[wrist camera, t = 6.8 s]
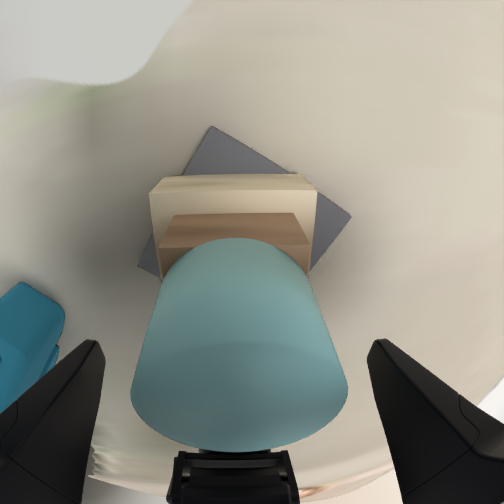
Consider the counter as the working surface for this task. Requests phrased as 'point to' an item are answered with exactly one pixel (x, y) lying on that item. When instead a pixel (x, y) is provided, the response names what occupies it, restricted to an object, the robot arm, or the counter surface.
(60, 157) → the counter surface
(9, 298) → the block
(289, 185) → the tower base
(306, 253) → the tower block
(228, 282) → the light blue cylinder
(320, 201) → the mat
